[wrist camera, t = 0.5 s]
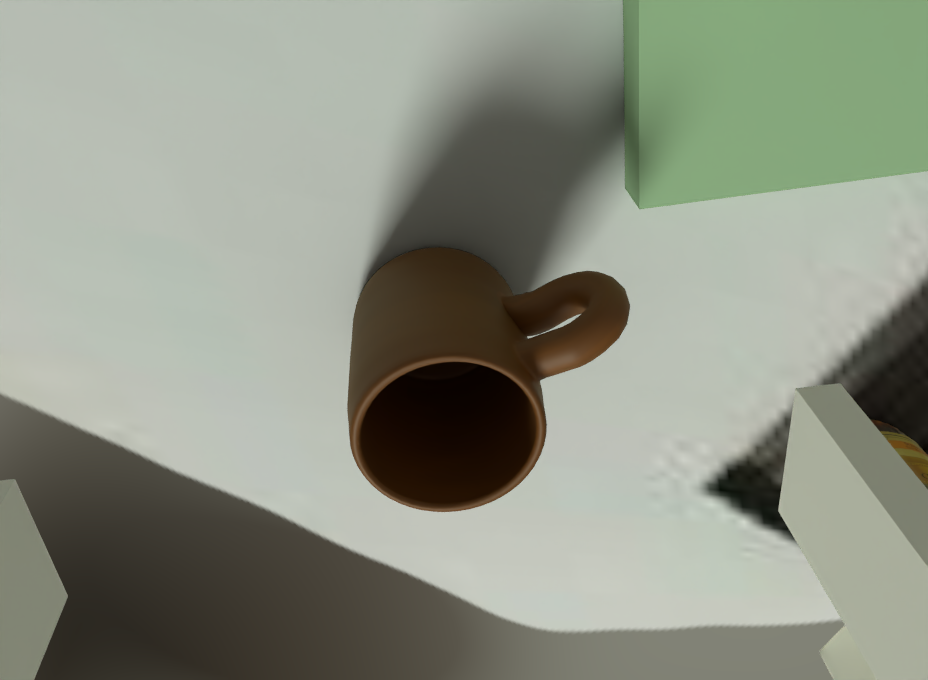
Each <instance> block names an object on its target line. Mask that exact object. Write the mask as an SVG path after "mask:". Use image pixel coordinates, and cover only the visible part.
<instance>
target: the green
mask: <svg viewBox="0 0 928 680" xmlns="http://www.w3.org/2000/svg"><path fill="white" fill-rule="evenodd" d="M623 29H624V119H625V189H626V190H627V192H628V193H629V195H630V196H631V198H632V199H633V200H634V202H635V203H636V205H637V206H638V208H639V209H645V208H653V207H660V206H668V205H675V204H683V203H690V202H698V201H705V200H713V199H720V198H728V197H736V196H743V195H751V194H758V193H766V192H773V191H781V190H788V189H796V188H803V187H811V186H818V185H826V184H834V183H841V182H849V181H856V180H864V179H871V178H879V177H886V176H894V175H901V174H909V173H916V172H924V171H928V0H623Z"/></svg>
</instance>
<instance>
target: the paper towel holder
mask: <svg viewBox="0 0 928 680" xmlns="http://www.w3.org/2000/svg"><path fill="white" fill-rule="evenodd" d="M819 654H820V655H821V657H822V659H823V661H824V663H825V665H826V667H827V668H828V670H829V672H830V674H831V676H832V678H833V680H877V679H876V677H875V676H874V674H873V672H872V671H871V669H870V667H869V665H868V664H867V662H866V660H865V659H864V657H863V655H862V653H861V652H860V650H859V648H858V647H857V645H856V643H855V641H854V640H853V638H852V636H851V635H850V633H849V631H848V629H847V628H846V626H845V625H844V626H843V627H842V628H841V629H840V630H839V631H838V632H837V633H836V634H835V635H834V636H833V637H832V638H831V639H830V640H829V641H828V643H826V644H825V645H824V646H823V647H822V649H821V650H820V651H819Z"/></svg>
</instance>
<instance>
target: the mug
mask: <svg viewBox="0 0 928 680" xmlns="http://www.w3.org/2000/svg"><path fill="white" fill-rule="evenodd" d="M629 309H630V304H629V301H628V297H627V294H626V291H625V289H624V288H623V287H622V286H621V285H620V284H619V283H618V282H617V281H616V280H615V279H614V278H613V277H611V276H608V275H606V274H603V273H600V272H594V271H583V272H576V273H572V274H568V275H565V276H562V277H559V278H557V279H555V280H553V281H551V282H549V283H547V284H545V285H543V286H541V287H540V288H538V289H536V290H534V291H532V292H526V293H523V294H520V295H515V296H513V294H512V291H511V289H510V287H509V286H508V284H507V283H506V281H505V280H504V279H503V277H502V276H501V275H500V274H499V273H498V272H497V271H496V270H495V269H494V268H493V267H492V266H491V265H490V264H488V263H487V262H485V261H484V260H482V259H481V258H479V257H477V256H475V255H473V254H470V253H467V252H464V251H461V250H457V249H452V248H442V247H435V248H424V249H418V250H414V251H411V252H408V253H405V254H403V255H400V256H398V257H396V258H394V259H393V260H391V261H389V262H388V263H386V264H385V265H384V266H382V267H381V268H380V269H379V270H378V271H377V272H376V273H375V274H374V275H373V276H372V277H371V278H370V280H369V281H368V282H367V284H366V285H365V287H364V289H363V291H362V293H361V294H360V297H359V299H358V302H357V305H356V309H355V314H354V318H353V331H352V344H351V356H350V371H349V389H348V421H349V435H350V445H351V450H352V454H353V457H354V459H355V461H356V464H357V466H358V467H359V469H360V471H361V472H362V474H363V475H364V476H365V478H366V479H367V480H368V481H369V482H370V483H371V484H372V485H373V486H374V487H375V488H376V489H377V490H378V491H380V492H381V493H382V494H384V495H385V496H387V497H388V498H390V499H392V500H394V501H396V502H398V503H400V504H403V505H406V506H409V507H412V508H416V509H420V510H426V511H435V512H451V511H461V510H467V509H471V508H475V507H479V506H482V505H484V504H487V503H490V502H492V501H494V500H496V499H498V498H500V497H502V496H503V495H505V494H507V493H508V492H510V491H511V490H512V489H514V488H515V487H516V486H517V485H518V484H520V483H521V482H522V481H523V480H524V479H525V477H526V476H527V475H528V474H529V473H530V471H531V470H532V469H533V467H534V466H535V464H536V462H537V460H538V458H539V456H540V454H541V452H542V449H543V446H544V442H545V438H546V425H547V424H546V416H545V410H544V404H543V395H542V389H541V385H540V380H542V379H544V378H546V377H549V376H553V375H556V374H559V373H562V372H565V371H568V370H571V369H575V368H578V367H581V366H583V365H585V364H587V363H589V362H591V361H592V360H594V359H595V358H596V357H598V356H599V355H601V354H602V353H603V352H605V351H606V350H607V349H608V348H609V347H610V346H611V345H612V344H613V343H614V342H615V341H616V340H617V339H618V338H619V337H620V335H621V333H622V332H623V330H624V328H625V327H626V325H627V321H628V316H629ZM578 314H581V315H580V316H579V317H577V318H576V319H575V320H573V321H572V322H571V323H569V324H567V325H565V326H563V327H561V328H558V329H555V330H552V331H549V332H546V331H548V330H550V329H552V328H554V327H555V326H557V325H559V324H560V323H562V322H564V321H566V320H567V319H569V318H571V317H573V316H576V315H578ZM543 332H546V333H544V334H541V333H543ZM537 334H541V335H538V336H535V337H532V338H529V339H528V338H527V336H533V335H537Z"/></svg>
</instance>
